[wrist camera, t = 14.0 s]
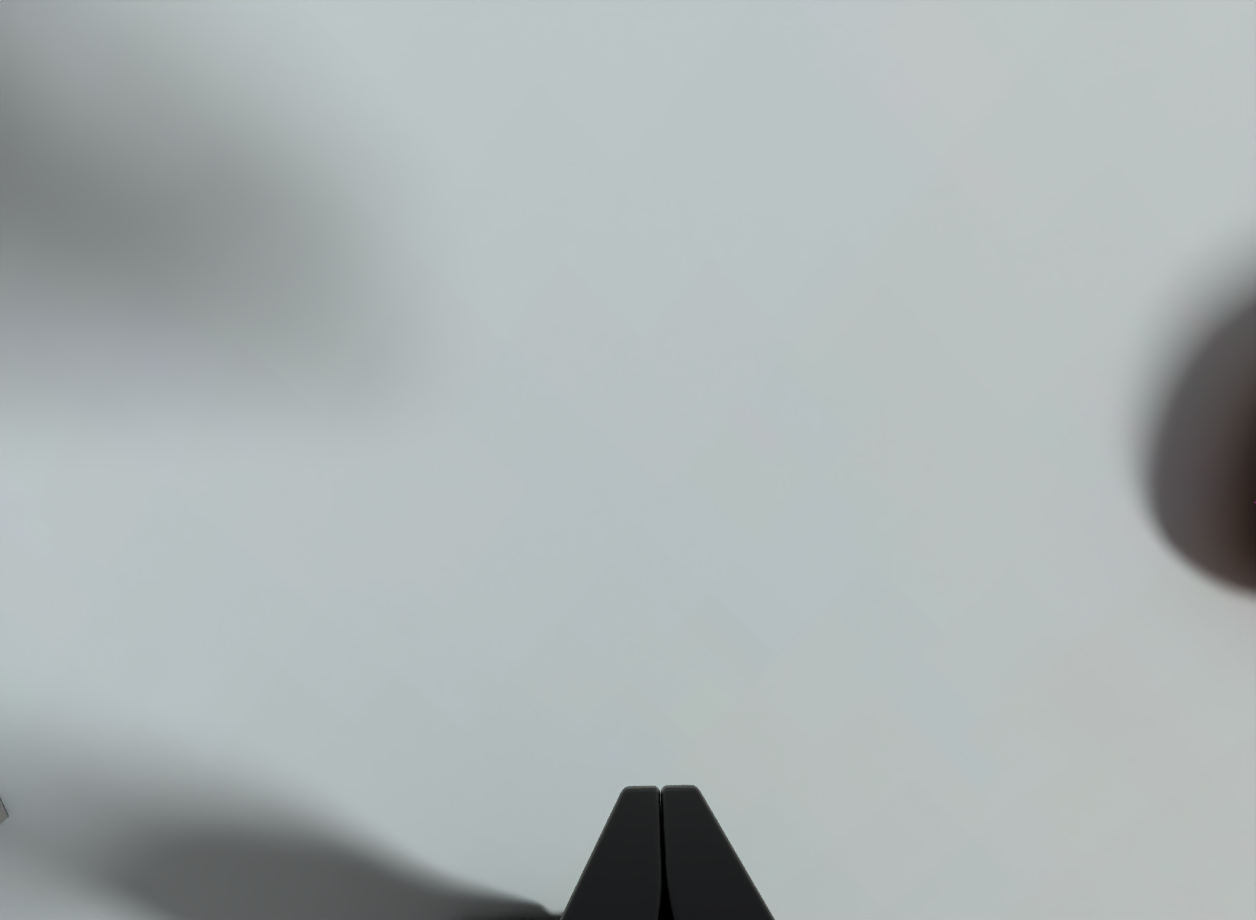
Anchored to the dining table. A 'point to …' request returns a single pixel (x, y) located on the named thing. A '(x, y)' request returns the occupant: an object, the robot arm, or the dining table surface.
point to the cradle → (2, 813)
